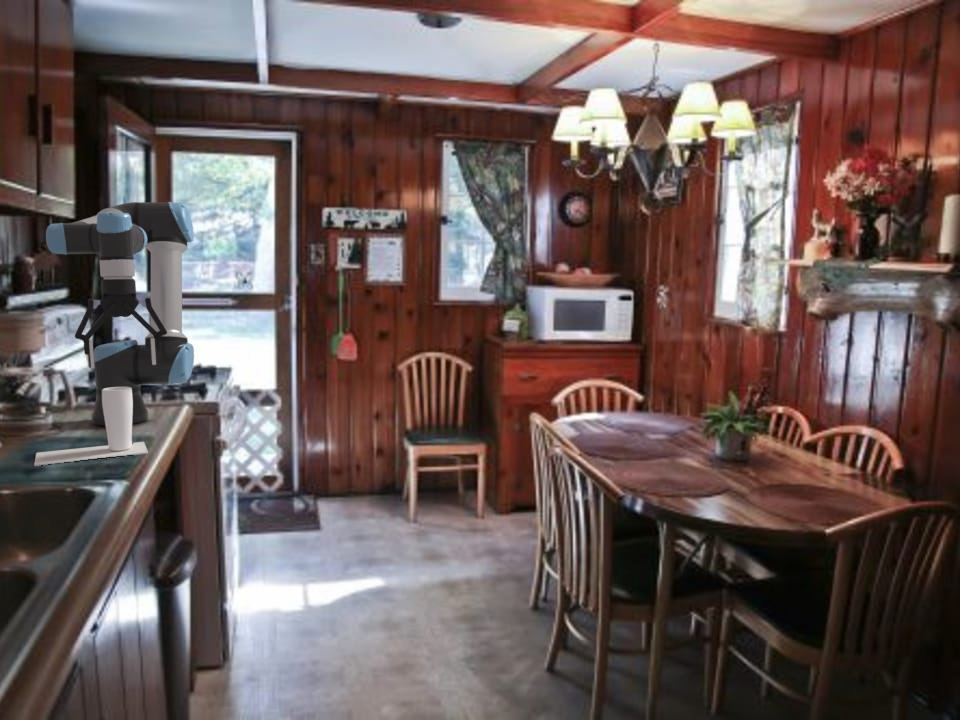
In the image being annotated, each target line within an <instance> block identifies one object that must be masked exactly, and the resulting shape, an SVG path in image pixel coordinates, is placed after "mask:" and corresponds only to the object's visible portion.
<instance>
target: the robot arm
mask: <svg viewBox="0 0 960 720" xmlns="http://www.w3.org/2000/svg"><path fill="white" fill-rule="evenodd" d="M194 235H195V234H194V226H193V220H192V217H191V214H190V211H189V209H188V207H187V205H185V204H184V203H182V202H174V201H173V202H171V201H167V202H166V201H165V202H159V201H158V202H157V201H155V202H154V201H153V202H152V201H151V202H150V201H149V202H147V201H146V202H143V201H141V202H137V201H136V202H133V201H131V202H125V203H121V204H117V205H116V204H115V205H113V206H110V207H106V208H104V209H102V210H100V211H99V212H97V214H96V215H93V216H91V217H87V218H84V219H81V220H78V221H74V222H67V223H63V222H60V223H51V224H49V225H48V226H47V228H46V231H45V240H46V245H47V248H48V250H49V251H50V252H51V253H52V254H55V255H57V254H58V255H65V256H66V255H83V254H85V255H86V254H87V255H88V254H91V255H92V254H95V255H97V254H98V255H99V257H98V258H99V272H100V273H99V274H100V277H101V278H103V279H101V281H100V287H101V288H100V289H101V290H100V291H101V299H92V298H89V299H88V300H87V309H86V310H85V313H84V315H83V317H82V319H81V321H80V323H79V325H78V328H77V330H76V331H75V334H74V338H75V339H76V340H77V339H78V340H80V341H82V342H83V349H84V350H83V351H84V354H85V355H86V356H87V355H89V357H90V358H89V359H90V370H93V369H94V380H95V390H96V393H95V394H96V398H95V402H94V406H93V412H92V414H91V418H90V419H91V424H92V425H95V426H105V427H106V425H105V419H104V413H103V406H102V389H105V388H111V387H131V388H132V396H133V417H132V425H133V424H138V423H142V422H145V421H147V420H149V410H148V409H147V408H146V406H145V401H144V400H143V399H144V398H143V396H142V393H141V386H142V385H174V384H184V383H186V382H187V381H189V380H190V377H191V374H192V372H193V369H194V362H195V348H194V346H193V344H192V343H190V342H188V341H189V340H188V337H187V336H186V335H185V334H184V332H183V254H184V252H185V251H187V250H188V243H192V242H193V241H194ZM144 249H147V251H149V253H150V297H148V296H147V297H144V298H139V299H138V297H137V289H136V286H137V285H136V279H134V278H133V277H135V275H136V271H135V269H136V268H135V257H134V256H135V254H138V253H141V252H142V251H143V250H144ZM139 304H140V305H141V306H142V307H143V308H146V311H147V312H148V314H149V315H150V323H148V321H147V320H145V319H144V318H143V317H142V316H141V315H140V314H139V313H138V312H137V311H136V308H137V307H138V306H139ZM98 306H101V308H102V309H104V312H102V314H101V315H100V317H99V318H98V319H97V320H96V321H95V323H94V324H92V326H91V327H90V329H89V330H88V331H87V332H86V333H85V334H83V332H84V331H85V328H86V327H87V324H88V321H89V320H90V317H91V316H92V314H93V311H94V310H95V309H97V308H98ZM131 316H132V317H134V318H135V319H136V321H138V323H140V324H141V325H142V326H143V327H144V328H145V329H146V330H147V331H148V332H149V333H148V334H147V335H146V337H144V344H139V342H138V340H137V339H129V340H127V339H126V340H122V341H114V342H109V343H105V344H99V345H98V346H96V347H95V348H94V344H93V343H94V342H93V341H94V340H93V339H92V340H91V338H92V337H93V336H94V335H95V333H97V331H98V330H99V329H100V327H101V326H102V325H103V324H104V323H105V322H106V320H107V319H108V318H109V317H112V318H120V317H121V318H128V317H131Z"/></svg>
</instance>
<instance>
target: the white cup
mask: <svg viewBox="0 0 960 720" xmlns="http://www.w3.org/2000/svg"><path fill="white" fill-rule="evenodd" d="M102 406H103V413H104V419H105V425H106V426H105V429H106V430H105V431H106V436H107V437H106V438H107V445H108V448H109V450H111V451H123V450H128V449H130V448H131V447H132V443H133V424H132V417H133V396H132V388H131V387H111V388H105V389H102Z"/></svg>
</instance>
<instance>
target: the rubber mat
mask: <svg viewBox="0 0 960 720" xmlns="http://www.w3.org/2000/svg"><path fill="white" fill-rule="evenodd" d="M132 443H133V444H132V447H131V448H130V449H128V450H123V451H111V450H109V448H108V444H107V445H97V446H89V447H79V448H70V449H69V448H68V449H61V450H51V451H50V450H49V451H48V450H47V451H41V452H40V451H39V452H36V453H35V459H34V462H33V463H34V464H33V466H34V467H41V465H43V466H49V465H48V464H52V465H56V464H55V463H61V464H65V463H64V462H71V463H75V462H74V461H80V460H88V459H97V458H106V457H116V456H125V457H128V456H127V455H134V456H141V455H143V456H144V455H149V451H148V447H147V446H146V444H145V441H137V442H132ZM116 458H117V457H116ZM80 462H81V461H80Z"/></svg>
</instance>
